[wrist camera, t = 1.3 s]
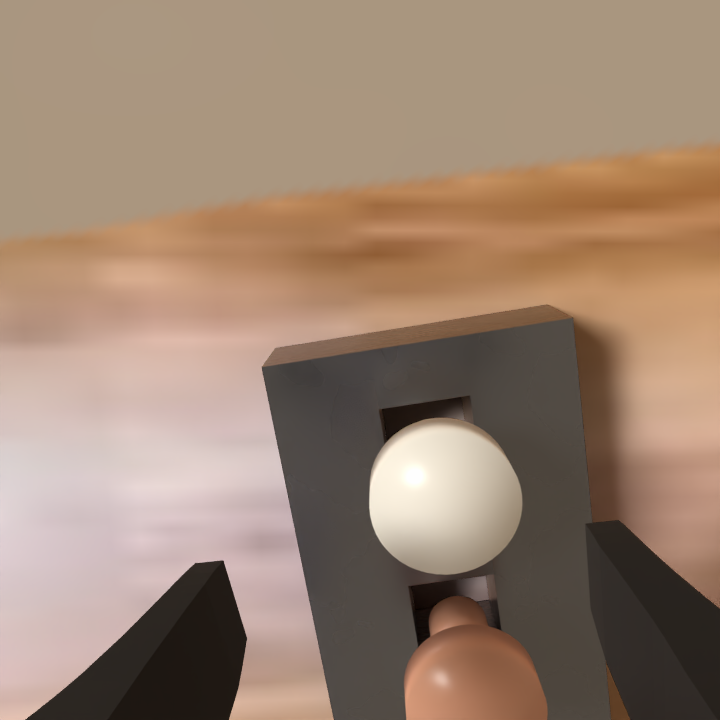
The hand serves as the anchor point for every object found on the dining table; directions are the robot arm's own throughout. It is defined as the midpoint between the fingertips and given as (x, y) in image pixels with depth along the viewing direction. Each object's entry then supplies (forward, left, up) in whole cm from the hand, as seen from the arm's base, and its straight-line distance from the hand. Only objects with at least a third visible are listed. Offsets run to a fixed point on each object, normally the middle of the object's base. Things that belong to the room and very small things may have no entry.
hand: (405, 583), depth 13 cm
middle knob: (-7, -1, -9) cm, 11 cm away
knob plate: (-7, -1, -12) cm, 14 cm away
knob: (-1, -1, -9) cm, 9 cm away
